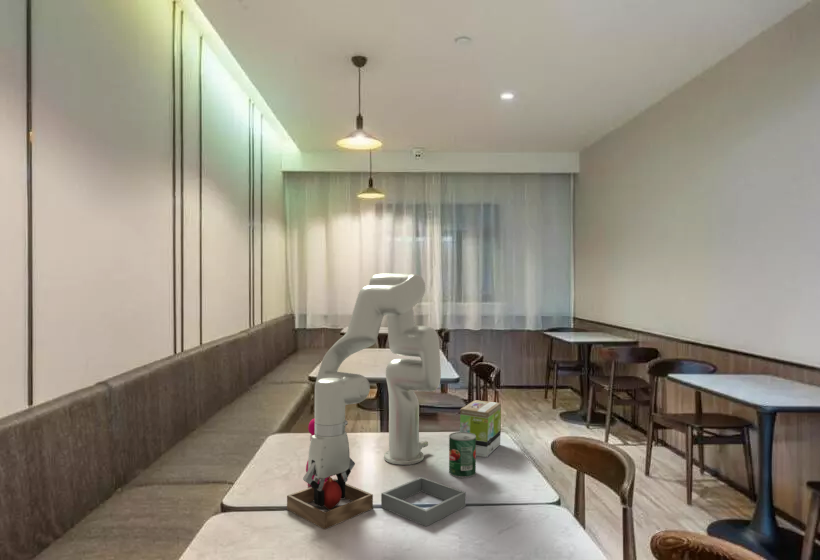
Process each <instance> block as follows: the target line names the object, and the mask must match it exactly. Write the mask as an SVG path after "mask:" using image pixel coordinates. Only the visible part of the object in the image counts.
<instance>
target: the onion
mask: <svg viewBox="0 0 820 560" xmlns="http://www.w3.org/2000/svg"><path fill="white" fill-rule="evenodd" d="M333 479H334V478H332V476H331V477H329V478H328V479H327V481H326V482H324V485H323V488H322V490H324V507H325V508H326V509H327V510H328V511H330V510H332V509H334V508H336V506H337V505H338V504H339V503H340V502H341V500H342V498H341V496H342V490H341V487H340V486H339V485H338V484H337V482H335V481H334V480H333Z"/></svg>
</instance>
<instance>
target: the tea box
mask: <svg viewBox="0 0 820 560" xmlns="http://www.w3.org/2000/svg"><path fill="white" fill-rule="evenodd" d="M459 414H460V417H459V432H468V433H472V434H475V435H476V457H481V458H483V457H484V458H488V457H489V456H490V455H491V453H492V452H494V451H495V450H496V449H497V448H498V447H499V446H500V445H501V434H502V433H501V422H502V403H501V402H493V401H487V400H486V401H485V400H478V399H477V400H476V399H474V400H473V401H471V402H469V403H467V404H466V405H464V406H463V407H461V408H460V412H459Z"/></svg>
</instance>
